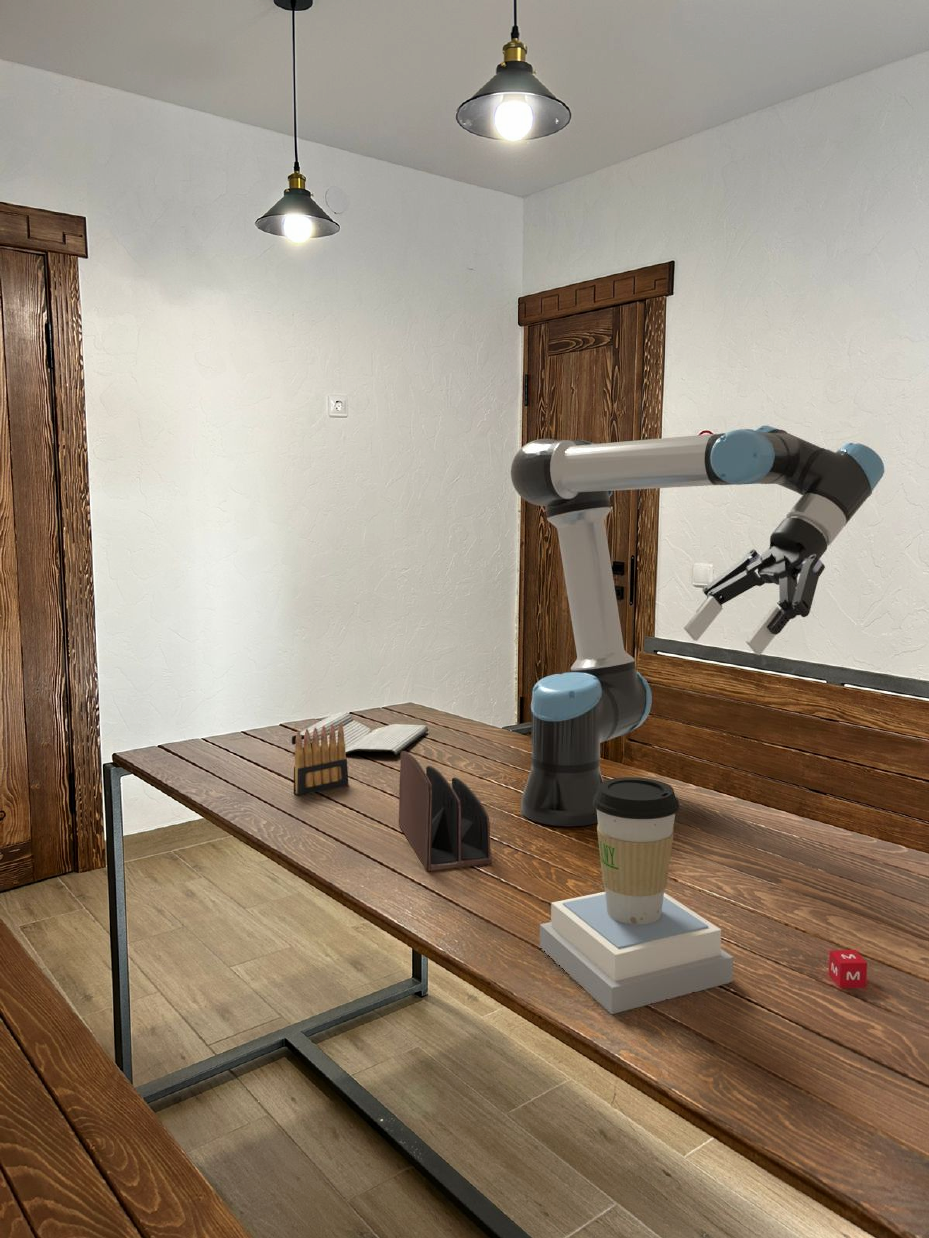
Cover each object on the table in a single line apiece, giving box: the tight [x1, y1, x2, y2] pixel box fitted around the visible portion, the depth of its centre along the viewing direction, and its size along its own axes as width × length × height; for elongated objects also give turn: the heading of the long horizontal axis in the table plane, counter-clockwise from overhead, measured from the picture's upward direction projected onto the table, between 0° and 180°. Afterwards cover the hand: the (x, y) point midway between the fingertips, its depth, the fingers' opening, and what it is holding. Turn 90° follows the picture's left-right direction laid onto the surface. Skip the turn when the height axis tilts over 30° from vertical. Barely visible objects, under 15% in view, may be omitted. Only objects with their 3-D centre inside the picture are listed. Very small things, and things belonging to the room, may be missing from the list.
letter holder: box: [398, 750, 492, 872], centre depth 146 cm, size 10×20×14 cm, turn 16°
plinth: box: [539, 891, 734, 1015], centre depth 109 cm, size 16×16×6 cm
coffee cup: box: [592, 776, 681, 925], centre depth 108 cm, size 10×10×15 cm
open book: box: [291, 711, 430, 759], centre depth 207 cm, size 23×24×5 cm
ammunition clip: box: [293, 723, 350, 797], centre depth 174 cm, size 11×2×12 cm, turn 128°
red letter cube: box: [827, 949, 868, 989], centre depth 106 cm, size 3×3×3 cm
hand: (719, 641), depth 133 cm, fingers open, 13 cm apart
